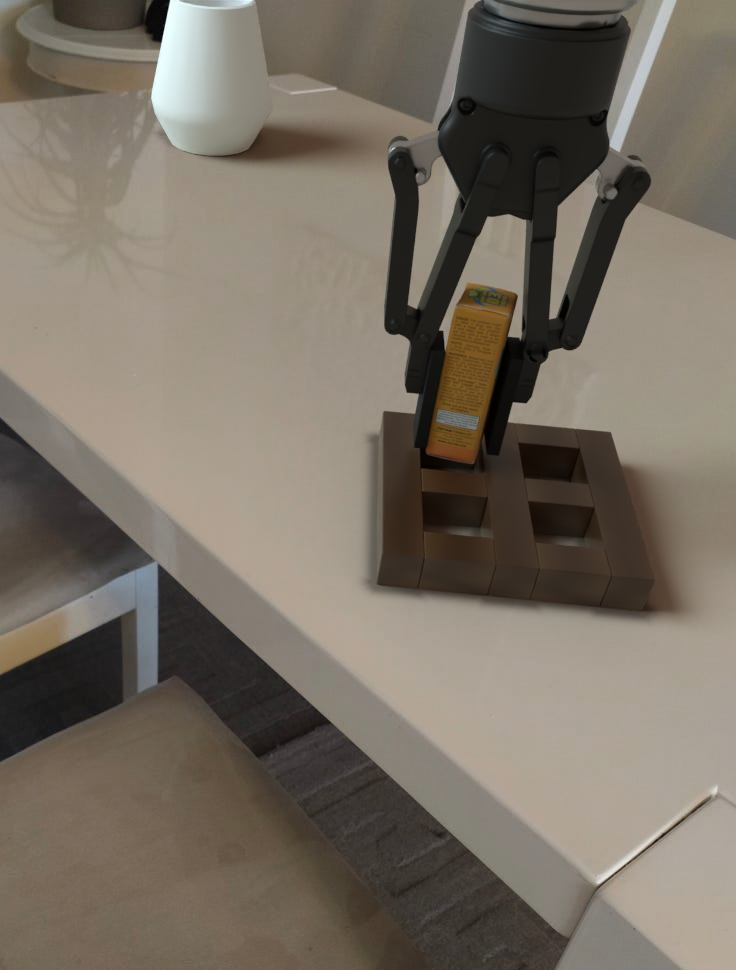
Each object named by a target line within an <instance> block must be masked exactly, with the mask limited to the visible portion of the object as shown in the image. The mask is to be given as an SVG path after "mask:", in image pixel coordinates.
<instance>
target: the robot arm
mask: <svg viewBox="0 0 736 970" xmlns="http://www.w3.org/2000/svg"><path fill="white" fill-rule="evenodd" d="M639 1H640V0H478V1H476V2H475V3H474V4H473V7H471V8H470V9H469V10H468V12H467V17H466V21H465V29H464V34H463V39H462V46H461V52H460V57H459V63H458V69H457V74H456V81H455V86H454V92H453V97H452V101H451V102H450V105H449V106H448V109H447V111H446V112H445V114H444V115H443V116H442V118H441V119H440V120H439V123H438V125H437V130H434V131H432V132H428V133H425V134H422V135H420V136H417V137H414V138H411V139H409V138H407V137H406V136H404V135H397V136H395V137H392V139H391V140H390V141H389V143H388V146H387V169H388V174H389V176H390V181H391V184H392V189H393V193H394V201H393V211H392V221H391V222H392V223H391V233H390V241H389V242H390V244H389V252H388V253H389V254H388V264H387V273H386V283H385V295H384V305H383V326H384V330H385V332H386V333H387V334H389V335H391V336H396V335H397V336H398V335H400V336H401V337H404V338H406V340H408V342H409V345H408V351H407V357H406V361H405V362H406V363H405V368H404V387H405V392H406V393H407V394H416V395H418V397H417V403H416V407H415V413H414V414H415V417H414V423H413V435H414V448H422V449H426V446H427V441H428V436H429V431H430V426H431V421H432V416H433V411H434V406H435V401H436V396H437V391H438V386H439V381H440V376H441V371H442V366H443V361H444V356H445V350H446V345H445V333H444V332H445V331H444V330H440V329H441V326H442V324H443V321H444V319H445V317H446V314H447V311H448V309H449V307H450V304H451V301H452V300H453V297H454V294H455V292H456V289H457V287H458V285H459V283H460V280H461V277H462V275H463V272H464V270H465V268H466V265H467V262H468V261H469V257H470V255H471V253H472V250H473V248H474V245H475V243H476V240H477V239H478V237H479V236H480V235H481V233H482V231H483V229H484V226H485V225H486V222H487V219H488V218H495V217H496V218H497V217H502V216H506V215H507V216H508V215H510V216H512V217H515V218H517V219H520V220H523V221H525V241H524V265H523V285H522V287H523V288H522V290H523V291H522V306H521V307H522V309H521V336H520V337H517V336H508V338H507V342H506V347H505V351H504V355H503V358H502V362H501V366H500V370H499V374H498V378H497V382H496V386H495V390H494V394H493V398H492V402H491V406H490V410H489V414H488V418H487V422H486V426H485V431H484V437H485V445H486V453H487V455H495V456H499V453H500V450H501V446H502V442H503V438H504V434H505V431H506V427H507V423H508V422H509V419H510V415H511V412H512V407H513V403H515V404H516V403H517V404H525V405H526V404H528V402H529V401H530V400H531V399H532V398H533V394H534V390H535V387H536V383H537V379H538V376H539V372H540V369H541V365H542V364H543V363H545V362H546V361H547V360H548V358H549V355H550V352H553V351H556V350H560V349H563V350H565V351H567V352H569V351H574V350H577V349H578V348H579V347H580V346H581V344H582V343H583V340H584V336H585V334H586V332H587V329H588V327H589V324H590V321H591V317H592V315H593V312H594V309H595V306H596V304H597V301H598V298H599V296H600V293H601V290H602V287H603V284H604V282H605V279H606V275H607V273H608V270H609V267H610V264H611V261H612V260H613V259H612V258H613V256H614V253H615V251H616V248H617V245H618V242H619V240H620V237H621V234H622V231H623V228H624V225H625V222H626V220H627V218H628V217H629V216H630V214H631V213H632V212H633V210H634V209H635V208H636V207H637V206H638V204H639V203H640V201H641V200H642V198H643V197H644V196H645V195H646V193H647V192H648V190H649V189H650V188H651V184H652V178H651V175H650V173H649V171H648V169H647V168H646V165H645V164H644V162H643V160H642V159H641V158H640V156H638V155H636V154H629V155H624V154H623V153H621V152H620V151H618V150H616V149H615V148H613V147H611V146H610V143H611V142H610V136H609V133H608V116H609V112H610V109H611V106H612V101H613V98H614V95H615V91H616V87H617V83H618V80H619V77H620V73H621V69H622V66H623V63H624V58H625V54H626V51H627V49H628V44H629V40H630V37H631V33H632V29H631V27H630V25H629V21H628V20H627V18H626V16H624V15H622V14H623V12H627V11H629V10H630V9H631V8H633V7H634V6H635V5H637V4H638V3H639ZM440 157H442V159H443V161H444V163H445V165H446V167H447V169H448V172H449V173H450V176H451V178H452V180H453V181H454V183H455V186H456V188H457V190H458V195H457V198H456V201H455V204H454V207H453V212H452V215H451V218H450V221H449V224H448V226H447V229H446V231H445V234H444V236H443V238H442V242H441V243H440V246H439V250H438V252H437V253H436V254H437V255H436V257H435V260H434V262H433V265H432V268H431V271H430V273H429V275H428V278H427V280H426V282H425V283H426V284H425V286H424V288H423V290H422V294H421V296H420V299H419V301H418V304H417V307H416V308H415V307H414V306H412V305H409V298H410V290H411V289H410V288H411V279H412V273H413V262H414V254H415V245H416V236H417V228H418V227H417V226H418V219H419V209H420V193H419V192H420V191H419V187H420V186H423V185H426V184H427V183H428V182H429V181H430V179H431V177H432V167H433V164H434V162H435V161H436V160H437V159H439V158H440ZM596 170H597V171H598V174H597V176H596V179H595V182H594V189H595V191H596V194H597V197H596V198H595V201H594V203H593V205H592V208H591V211H590V213H589V217H588V220H587V223H586V226H585V228H584V233H583V235H582V238H581V241H580V244H579V247H578V250H577V253H576V257H575V259H574V263H573V265H572V269H571V272H570V274H569V278H568V281H567V284H566V287H565V290H564V293H563V296H562V299H561V302H560V304H559V307H558V311H557V314H556V317H554V318H550V312H551V297H552V281H553V266H554V253H555V252H554V251H555V240H556V237H557V227H558V212H559V211H558V210H559V206H560V205H561V204H562V203H563V202H565V200H567V198H568V197H569V196H571V195H572V194H573V193H574V192H575V191H576V190H577V189H578V188H579V187H580V186H581V185H582V184H583V183H585V181H586V180H587V179H588V178H590V176H591V175H593V173H594V172H595V171H596Z"/></svg>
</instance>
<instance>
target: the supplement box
mask: <svg viewBox="0 0 736 970" xmlns="http://www.w3.org/2000/svg"><path fill="white" fill-rule="evenodd" d="M518 298H519V295H518V293H516V292H514V291H510V290H507V289H503V288H499V287H495V286H490V285H485V284H479V283H473V282H466V283H465V287H464V289H463V293H462V294H461V297H460V298H459V300H458V301H457V303H456V304H455V307H454V311H453V314H452V318H451V323H450V327H449V332H448V337H447V340H446V341H447V342H446V345H445V356H444V361H443V366H442V371H441V376H440V381H439V386H438V391H437V396H436V401H435V406H434V411H433V416H432V421H431V426H430V431H429V436H428V441H427V446H426V453H427V454H428V455H431V456H435V457H439V458H443V459H448V460H453V461H458V462H463V463H468V464H473V463H474V462H475V460H476V457H477V455H478V452H479V449H480V445H481V442H482V439H483V435H484V431H485V426H486V422H487V418H488V414H489V410H490V406H491V402H492V398H493V394H494V390H495V386H496V382H497V378H498V374H499V370H500V366H501V362H502V358H503V355H504V351H505V347H506V342H507V338H508V337H509V334H510V329H511V327H512V322H513V317H514V315H515V312H516V311H515V310H516V307H517V303H518Z"/></svg>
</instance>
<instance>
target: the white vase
mask: <svg viewBox="0 0 736 970" xmlns="http://www.w3.org/2000/svg"><path fill="white" fill-rule="evenodd" d="M261 31H262V30H261V25H260V20H259V14H258V8H257V2H256V0H169V4H168V9H167V15H166V19H165V25H164V30H163V35H162V39H161V44H160V49H159V54H158V60H157V63H156V70H155V74H154V79H153V84H152V88H151V96H150V97H151V103H152V108H153V112H154V114H155V116H156V118H157V120H158V122H159V123H160V125H161V127H162V129H163V131H164V132H165V134H166V136H167V138H168V140H169V141H170V142H169V143H171V145H172V146H174V147H175V148H176V149H178V150H180V151H183V152H187V153H190V154H193V155H200V156H208V157H212V156H213V157H215V156H220V157H222V156H223V157H224V156H231V155H238V154H240V153H243V152H245V151H247V150H249V149H250V148H251V147H252V145H253V143H254V142H255V140H256V139H257V137H258V135H259V133H260V132H261V130H262V128H263V127H264V126H265V123H267V121H268V119H269V117H270V115H271V113H272V109H273V97H272V90H271V85H270V79H269V72H268V67H267V61H266V55H265V49H264V44H263V38H262V37H263V36H262V32H261Z"/></svg>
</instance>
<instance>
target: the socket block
mask: <svg viewBox="0 0 736 970" xmlns="http://www.w3.org/2000/svg"><path fill="white" fill-rule="evenodd" d="M414 417H415V413H413V412H411V413H410V412H401V411H390V410H383V411H382V417H381V422H380V429H379V435H378V443H377V445H378V446H377V456H378V457H377V503H376V504H377V508H376V509H377V510H376V512H377V513H376V516H377V517H376V572H375V573H376V575H375V576H376V578H375V584H376V585H377V586H384V587H385V586H387V587H395V588H404V589H413V590H414V589H418V590H424V591H433V592H435V591H436V592H443V593H454V594H463V595H472V596H473V595H474V596H484V597H486V596H487V597H494V598H503V599H504V598H505V599H512V600H513V599H514V600H524V601H533V602H544V603H555V604H564V605H575V606H582V607H592V608H603V609H612V610H613V609H614V610H622V611H624V610H625V611H631V612H632V611H633V612H642V611H643V609H644V608H645V604H646V603H647V600H648V598H649V595H650V594H651V591H652V589H653V587H654V585H655V582H656V578H655V574H654V572H653V571H654V570H653V568H652V565H651V561H650V558H649V555H648V551H647V548H646V545H645V541H644V537H643V535H642V532H641V527H640V524H639V521H638V517H637V514H636V511H635V508H634V505H633V504H634V503H633V501H632V497H631V495H630V491H629V488H628V484H627V481H626V478H625V475H624V471H623V467H622V464H621V460H620V458H619V454H618V450H617V447H616V444H615V441H614V437H613V434H612V432H611V431H605V430H604V431H603V430H593V429H585V428H584V429H583V428H573V427H562V426H561V427H560V426H552V425H540V424H531V423H520V422H510V421H508V423H507V427H506V431H505V434H504V438H503V442H502V446H501V450H500V453H499V456H495V455H487V453H486V445H485V437H484V435H483V439H482V442H481V445H480V449H479V452H478V455H477V457H476V460H475V462H474V463H473V464H468V463H463V462H458V461H453V460H448V459H443V458H439V457H435V456H431V455H428V454H427V453H426V449H422V448H414V435H413V423H414ZM422 465H427V466H438V467H448V468H450V467H451V468H457V469H459V468H460V469H468V470H473V472H464V471H454V470H453V471H452V470H443V469H433V468H422ZM524 475H531V476H540V477H553V478H561V479H562V478H563V479H564V478H565V479H569V480H570V482H567V481H557V480H547V479H537V478H526V477H524ZM424 523H428V524H438V525H446V526H447V525H448V526H459V527H469V528H477V529H478V528H479V530H480V536H475V535H465V534H453V533H445V532H435V531H424ZM535 534H540V535H548V536H549V535H550V536H560V537H570V538H578V539H579V538H581V539H583V541H584V545H585V546H574V545H564V544H554V543H544V542H536V540H535Z"/></svg>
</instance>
